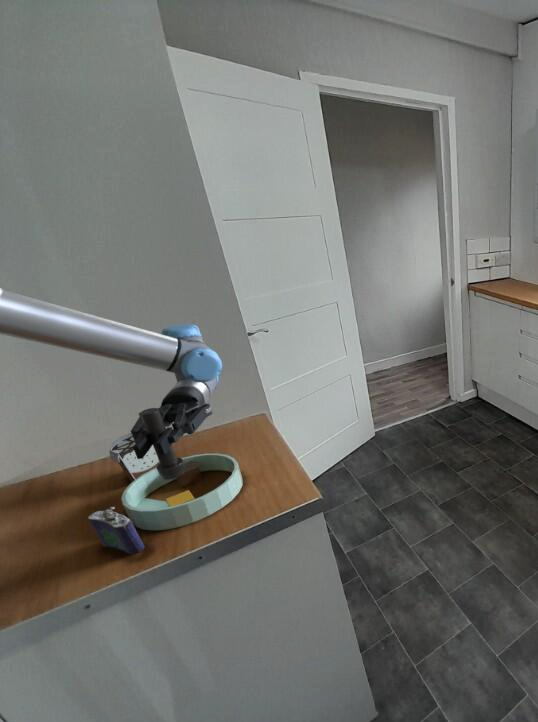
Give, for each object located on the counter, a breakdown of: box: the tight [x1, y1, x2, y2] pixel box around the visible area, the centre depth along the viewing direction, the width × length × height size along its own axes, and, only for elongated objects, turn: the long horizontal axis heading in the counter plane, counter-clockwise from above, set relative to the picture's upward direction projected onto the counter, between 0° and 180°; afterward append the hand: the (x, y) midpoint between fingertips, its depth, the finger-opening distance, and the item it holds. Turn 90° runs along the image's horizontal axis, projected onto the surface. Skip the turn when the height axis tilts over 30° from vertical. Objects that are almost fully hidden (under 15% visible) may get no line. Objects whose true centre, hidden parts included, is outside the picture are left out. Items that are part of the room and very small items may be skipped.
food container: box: [109, 432, 160, 483], centre depth 98 cm, size 12×6×10 cm, turn 172°
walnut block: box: [175, 461, 204, 489], centre depth 96 cm, size 4×4×4 cm
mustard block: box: [165, 489, 195, 507], centre depth 86 cm, size 4×4×4 cm
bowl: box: [120, 453, 244, 531], centre depth 91 cm, size 20×20×6 cm
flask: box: [87, 506, 145, 555], centre depth 75 cm, size 9×3×11 cm, turn 73°
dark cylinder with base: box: [139, 407, 186, 480], centre depth 83 cm, size 4×4×15 cm
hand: (149, 450), depth 78 cm, fingers closed on dark cylinder with base, 3 cm apart
